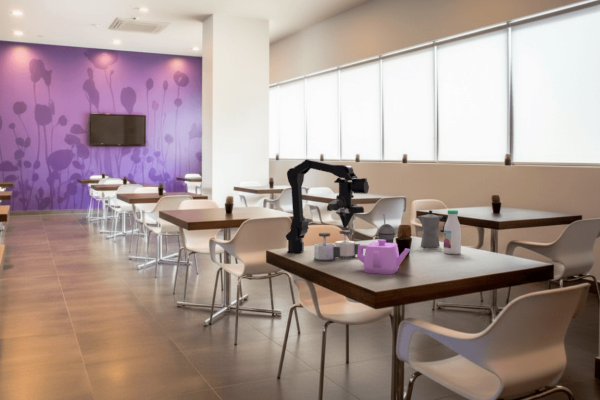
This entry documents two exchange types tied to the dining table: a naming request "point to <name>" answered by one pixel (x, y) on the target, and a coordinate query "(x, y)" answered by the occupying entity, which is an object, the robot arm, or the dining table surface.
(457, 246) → the milk bottle
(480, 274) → the dining table surface
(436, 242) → the coffeepot
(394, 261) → the teakettle
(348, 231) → the cream plunger
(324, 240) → the steel plunger
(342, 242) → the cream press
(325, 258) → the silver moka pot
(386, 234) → the beverage cup
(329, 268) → the dining table surface
